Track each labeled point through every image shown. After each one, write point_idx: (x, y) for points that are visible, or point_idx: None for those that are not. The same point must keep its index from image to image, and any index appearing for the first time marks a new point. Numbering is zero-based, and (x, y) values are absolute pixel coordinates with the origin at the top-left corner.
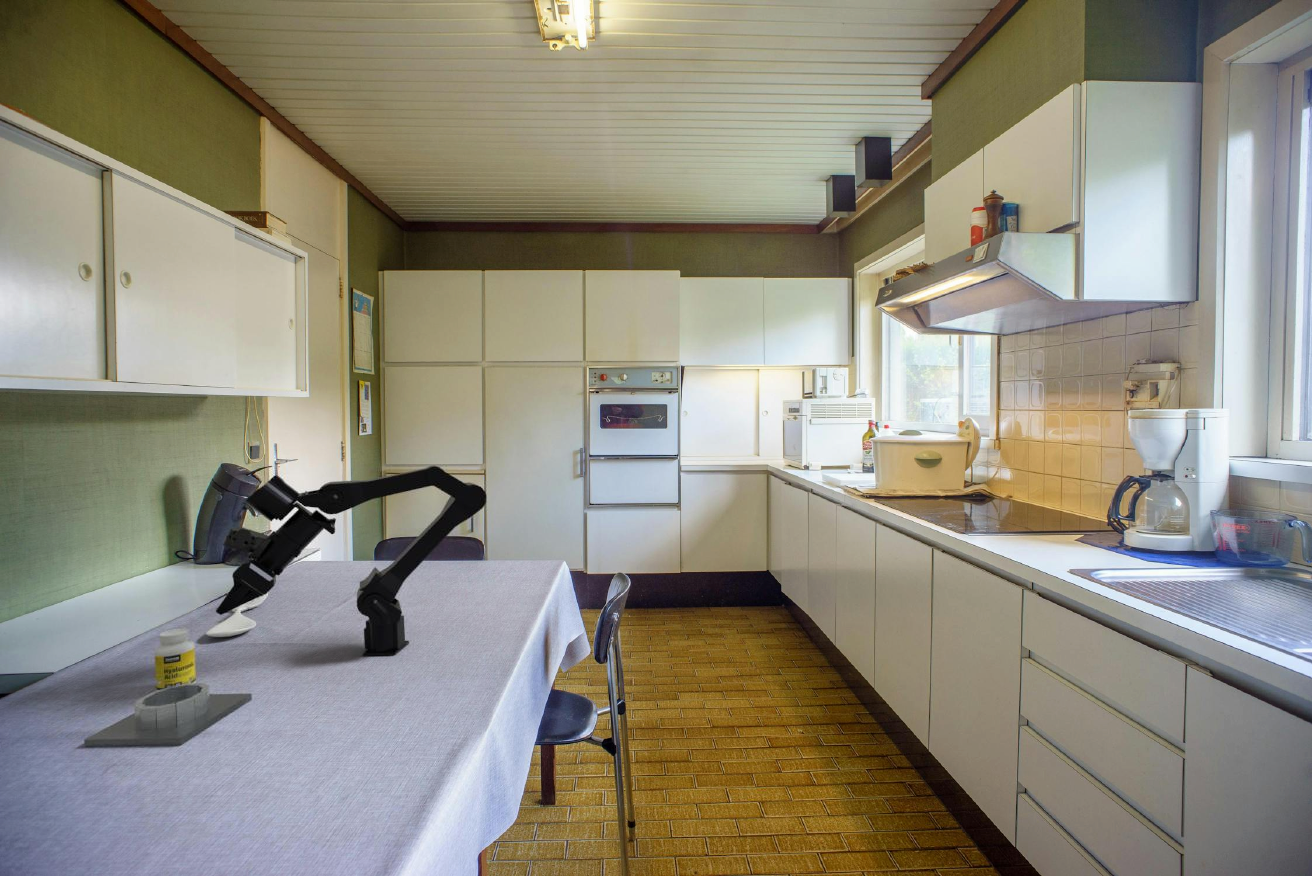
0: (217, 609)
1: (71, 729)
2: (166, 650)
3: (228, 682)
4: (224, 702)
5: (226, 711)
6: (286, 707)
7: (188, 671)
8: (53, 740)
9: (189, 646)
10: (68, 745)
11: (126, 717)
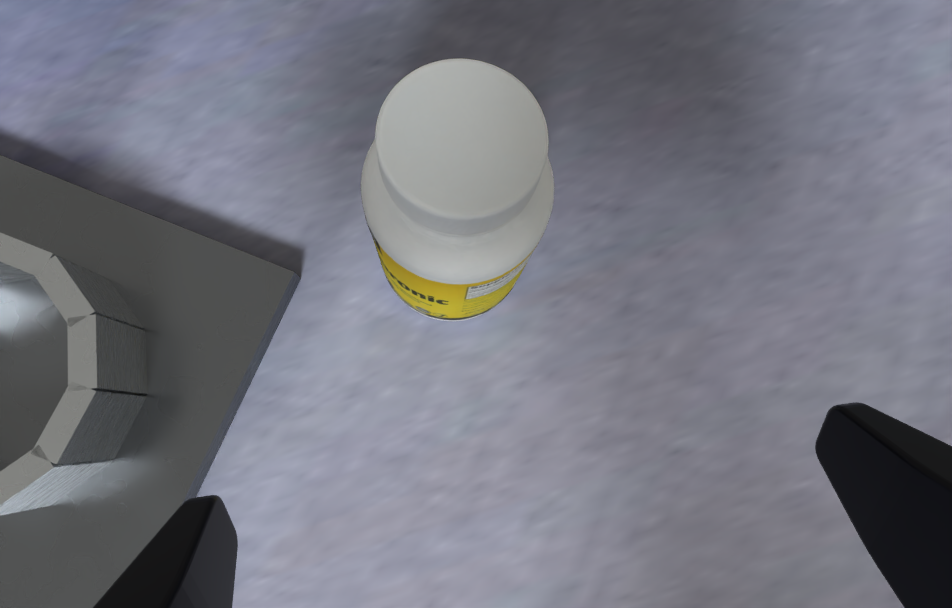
0: (162, 528)
1: (175, 42)
2: (369, 165)
3: (422, 466)
4: (42, 568)
5: None
6: None
7: (412, 297)
8: (98, 25)
9: (424, 268)
10: (15, 88)
11: (102, 197)
